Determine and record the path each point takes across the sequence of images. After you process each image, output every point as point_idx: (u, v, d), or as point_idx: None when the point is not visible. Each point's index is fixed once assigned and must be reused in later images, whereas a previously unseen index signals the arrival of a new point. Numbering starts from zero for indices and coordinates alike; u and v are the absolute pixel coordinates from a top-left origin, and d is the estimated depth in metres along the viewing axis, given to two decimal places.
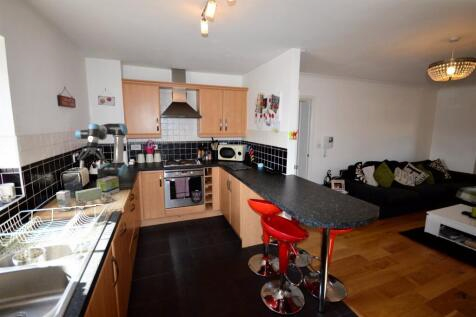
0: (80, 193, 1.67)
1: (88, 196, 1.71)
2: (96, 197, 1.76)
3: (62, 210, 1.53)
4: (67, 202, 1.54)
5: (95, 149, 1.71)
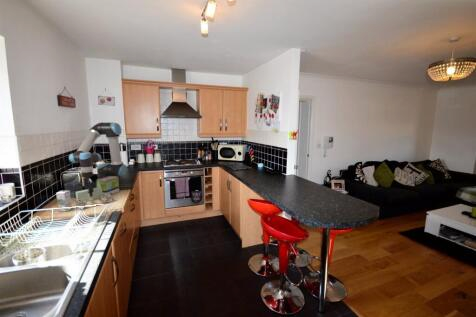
0: (80, 193, 1.67)
1: (88, 196, 1.71)
2: (97, 197, 1.76)
3: (62, 210, 1.53)
4: (67, 202, 1.54)
5: (87, 179, 1.69)
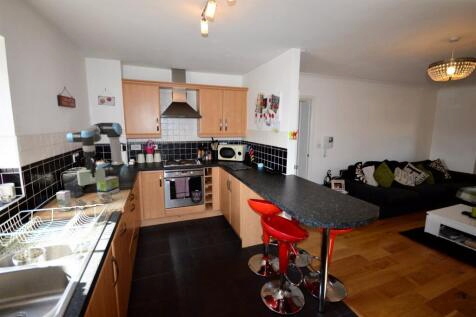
0: (82, 173, 1.58)
1: (90, 176, 1.63)
2: (99, 178, 1.67)
3: (62, 210, 1.53)
4: (67, 202, 1.54)
5: (89, 159, 1.60)
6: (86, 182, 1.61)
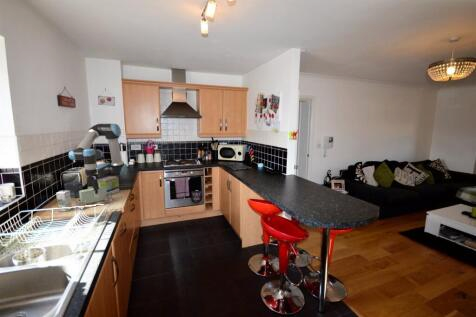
0: (84, 192, 1.60)
1: (92, 195, 1.65)
2: (101, 196, 1.70)
3: (62, 210, 1.53)
4: (67, 202, 1.54)
5: (91, 177, 1.63)
6: (88, 201, 1.63)
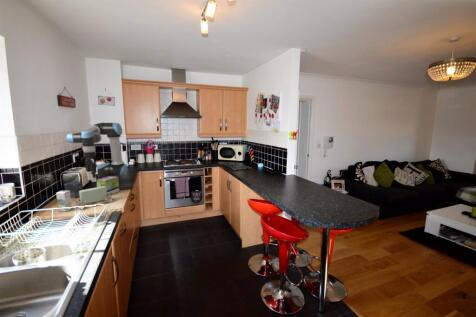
0: (84, 192, 1.60)
1: (92, 195, 1.65)
2: (101, 196, 1.70)
3: (62, 210, 1.53)
4: (67, 202, 1.54)
5: (89, 159, 1.61)
6: (88, 201, 1.63)
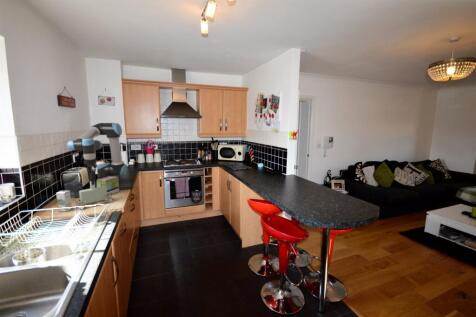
0: (84, 192, 1.60)
1: (92, 195, 1.65)
2: (101, 196, 1.70)
3: (62, 210, 1.53)
4: (67, 202, 1.54)
5: (90, 167, 1.61)
6: (88, 201, 1.63)
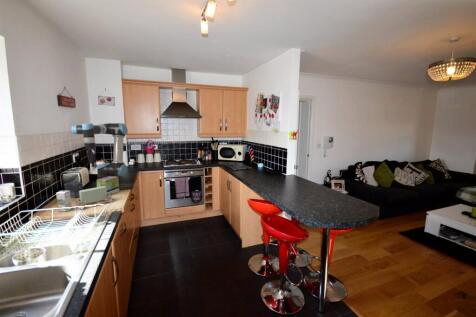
0: (84, 192, 1.60)
1: (92, 195, 1.65)
2: (101, 196, 1.70)
3: (62, 210, 1.53)
4: (67, 202, 1.54)
5: (90, 150, 1.72)
6: (88, 201, 1.63)
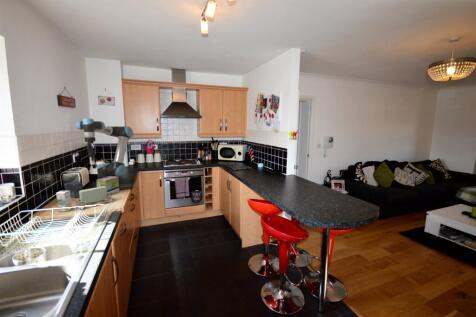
0: (84, 192, 1.60)
1: (92, 195, 1.65)
2: (101, 196, 1.70)
3: (62, 210, 1.53)
4: (67, 202, 1.54)
5: (90, 144, 1.79)
6: (88, 201, 1.63)
